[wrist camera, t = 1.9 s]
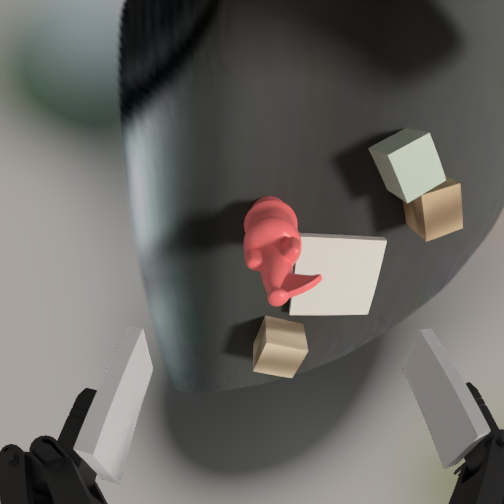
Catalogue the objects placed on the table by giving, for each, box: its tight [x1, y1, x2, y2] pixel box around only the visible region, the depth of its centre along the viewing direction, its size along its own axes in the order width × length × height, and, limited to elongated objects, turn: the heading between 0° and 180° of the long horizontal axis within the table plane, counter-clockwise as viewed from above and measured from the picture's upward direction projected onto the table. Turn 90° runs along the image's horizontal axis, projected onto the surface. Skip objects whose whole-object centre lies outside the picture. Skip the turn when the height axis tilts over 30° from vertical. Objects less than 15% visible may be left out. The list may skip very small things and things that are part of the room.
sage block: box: [368, 128, 446, 203], centre depth 26 cm, size 5×5×5 cm
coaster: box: [289, 233, 387, 315], centre depth 33 cm, size 10×10×1 cm
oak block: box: [403, 176, 463, 242], centre depth 27 cm, size 5×5×5 cm
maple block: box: [253, 315, 308, 378], centre depth 35 cm, size 5×5×5 cm
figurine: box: [244, 196, 322, 306], centre depth 24 cm, size 5×5×15 cm
